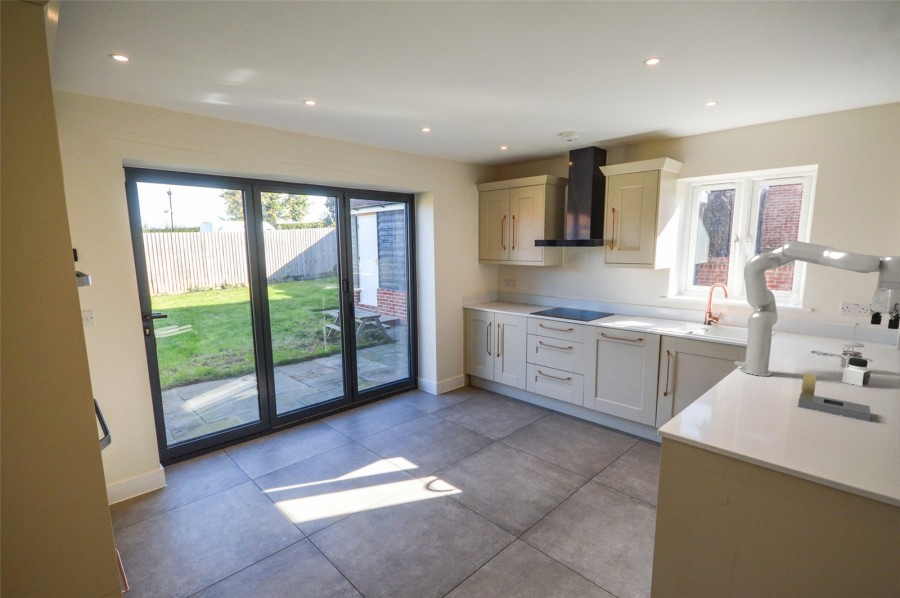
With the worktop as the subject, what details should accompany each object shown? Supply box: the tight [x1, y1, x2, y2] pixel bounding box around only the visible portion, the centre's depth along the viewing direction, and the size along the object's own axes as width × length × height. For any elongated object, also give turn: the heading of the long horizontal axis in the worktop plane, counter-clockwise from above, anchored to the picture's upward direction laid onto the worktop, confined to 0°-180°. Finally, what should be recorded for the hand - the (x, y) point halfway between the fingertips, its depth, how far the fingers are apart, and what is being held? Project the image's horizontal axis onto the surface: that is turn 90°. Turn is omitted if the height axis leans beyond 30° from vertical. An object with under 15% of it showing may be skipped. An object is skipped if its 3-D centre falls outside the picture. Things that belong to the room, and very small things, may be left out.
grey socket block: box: [797, 392, 871, 422], centre depth 160 cm, size 20×10×3 cm, turn 46°
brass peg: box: [800, 372, 818, 396], centre depth 173 cm, size 4×4×10 cm
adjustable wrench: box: [810, 350, 872, 360], centre depth 237 cm, size 25×6×2 cm, turn 46°
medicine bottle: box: [841, 358, 872, 387], centre depth 190 cm, size 7×7×12 cm
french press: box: [837, 322, 865, 372], centre depth 210 cm, size 10×12×25 cm
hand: (884, 326), depth 172 cm, fingers open, 9 cm apart
